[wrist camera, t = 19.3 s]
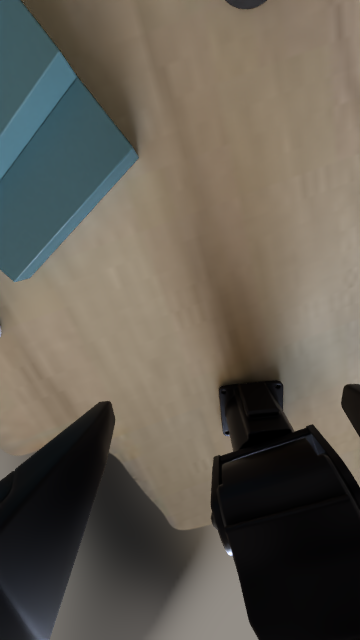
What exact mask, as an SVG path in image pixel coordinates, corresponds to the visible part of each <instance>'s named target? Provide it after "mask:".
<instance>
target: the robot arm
mask: <svg viewBox="0 0 360 640" xmlns="http://www.w3.org/2000/svg"><path fill="white" fill-rule="evenodd" d="M276 385H279V386H276ZM223 390H226V391H224V392H222V391H223ZM219 398H220V408H221V418H222V428H223V434H224V435H225V436H230V438H231V443H232V447H233V452H231V453H228V454H225V455H222V456H220V455H218V456H215V457H214V460H213V469H212V488H211V509H212V515H211V520H212V524H213V526H214V527H215V528H216V529H217V530H218V532H219V535H220V538H221V541H222V543H223V546H224V548H225V550H226V551H227V553H228V554H229V555H233V558H234V562H235V565H236V569H237V572H238V576H239V580H240V583H241V588H242V593H243V597H244V602H245V606H246V610H247V614H248V619H249V622H250V625H251V627H252V628H253V630H254V632H255V634H256V635H257V637H258V639H259V640H360V487H359V485H358V484H357V482H356V480H355V479H354V477H353V475H352V474H351V472H350V471H349V469H348V468H347V466H346V465H345V463H344V462H343V460H342V459H341V458H340V457H339V455H338V454H337V453H336V452H335V450H334V449H333V448H332V447H331V446H330V444H329V443H328V442H327V441H326V440H325V438H324V437H323V436H322V435H321V434H320V432H319V431H318V430H317V429H316V428H315V426H314V425H313V424H312V425H309V426H306V428H304V429H301V430H298V431H294V430H293V428H292V426H291V424H290V423H289V421H288V419H287V417H286V415H285V414H284V412H283V384H282V383H281V381H279V380H275V381H265V382H253V383H243V384H235V385H225V386H221V387H220V388H219ZM341 405H342V408H343V410H344V412H345V413H346V415H347V417H348V418H349V420H350V422H351V423H352V425H353V427H354V428H355V430H356V432H357V433H358V435H359V437H360V385H359V384H347V385H345V386H344V389H343V395H342V401H341ZM114 425H115V416H114V412H113V408H112V404H111V402H109V401H103V402H99V403H98V404H96V405H95V406H94V407H93V408H91V409H90V410H89V411H88V412H86V413H85V414H84V415H83V416H81V417H80V418H79V419H77V420H76V421H75V422H74V423H72V424H71V425H70V426H69V427H67V428H66V429H65V430H64V431H62V432H61V433H60V434H59V435H57V436H56V437H55V438H54V439H52V440H51V441H50V442H49V443H47V444H46V445H45V446H44V447H42V448H41V449H40V450H39V451H37V452H36V453H35V454H34V455H32V456H31V457H30V458H29V459H27V460H26V461H25V462H24V463H23V464H21V465H20V466H18V468H16V469H15V471H12V472H11V473H10V474H8V475H7V476H6V477H5V478H3V479H2V480H1V481H0V640H49V639H50V636H51V633H52V630H53V627H54V624H55V621H56V618H57V615H58V611H59V608H60V605H61V602H62V599H63V596H64V593H65V590H66V586H67V583H68V580H69V577H70V574H71V571H72V568H73V565H74V562H75V559H76V556H77V553H78V549H79V546H80V543H81V540H82V537H83V534H84V531H85V528H86V524H87V521H88V518H89V515H90V512H91V509H92V506H93V503H94V500H95V497H96V494H97V490H98V487H99V484H100V481H101V478H102V475H103V472H104V468H105V465H106V462H107V458H108V453H109V448H110V444H111V439H112V434H113V430H114Z"/></svg>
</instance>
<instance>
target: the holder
mask: <svg viewBox="0 0 360 640" xmlns="http://www.w3.org/2000/svg"><path fill="white" fill-rule="evenodd" d="M225 1H227V2H228V3H229V4H230V5H232V6H234V7H237V8H240V9H251V8H255V7H257V6H259V5H261V4H263V3H264V2H266V1H267V0H225Z"/></svg>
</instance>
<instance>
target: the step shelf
mask: <svg viewBox="0 0 360 640" xmlns="http://www.w3.org/2000/svg"><path fill="white" fill-rule="evenodd" d="M138 158H139V157H138V155H137V153H136V151H135V150H134V148H133V147H132V145H131V144H130V143H129V141H128V140H127V139H126V138H125V136H124V135H123V134H122V133H121V131H120V130H119V129H118V127H117V126H116V125H115V124H114V122H113V121H112V120H111V119H110V117H109V116H108V115H107V113H106V112H105V111H104V110H103V108H102V107H101V106H100V105H99V103H98V102H97V101H96V99H95V98H94V97H93V96H92V94H91V93H90V92H89V90H88V89H87V88H86V87H85V85H84V84H83V83H82V82H81V80H80V79H79V78H78V77H77V75H76V74H75V72H74V71H73V69H72V68H71V66H70V65H69V63H68V62H67V60H66V59H65V57H64V56H63V54H62V53H61V51H60V50H59V49H58V47H57V46H56V45H55V44H54V42H53V41H52V40H51V38H50V37H49V36H48V35H47V33H46V32H45V31H44V29H43V28H42V27H41V26H40V24H39V23H38V22H37V20H36V19H35V18H34V17H33V15H32V14H31V13H30V12H29V10H28V9H27V8H26V6H25V5H24V4H23V3H22V1H21V0H0V270H2V271H3V272H4V273H5V274H6V275H7V276H8V277H9V278H10V279H11V280H13V281H14V282H17V281H20V280H24V279H28V278H30V277H31V276H32V275H33V274H34V273H35V272H36V271H37V270H38V269H39V267H40V266H41V265H42V264H43V263H44V262H45V261H46V260H47V259H48V257H49V256H50V255H51V254H52V253H53V252H54V251H55V250H56V249H57V248H58V246H59V245H60V244H61V243H62V242H63V241H64V240H65V239H66V238H67V237H68V235H69V234H70V233H71V232H72V231H73V230H74V229H75V228H76V227H77V226H78V224H79V223H80V222H81V221H82V220H83V219H84V218H85V217H86V216H87V214H88V213H89V212H90V211H91V210H92V209H93V208H94V207H95V206H96V205H97V203H98V202H99V201H100V200H101V199H102V198H103V197H104V196H105V195H106V194H107V192H108V191H109V190H110V189H111V188H112V187H113V186H114V185H115V184H116V183H117V181H118V180H119V179H120V178H121V177H122V176H123V175H124V174H125V173H126V171H127V170H128V169H129V168H130V167H131V166H132V165H133V164H134V163H135V162H136V160H137V159H138Z"/></svg>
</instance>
